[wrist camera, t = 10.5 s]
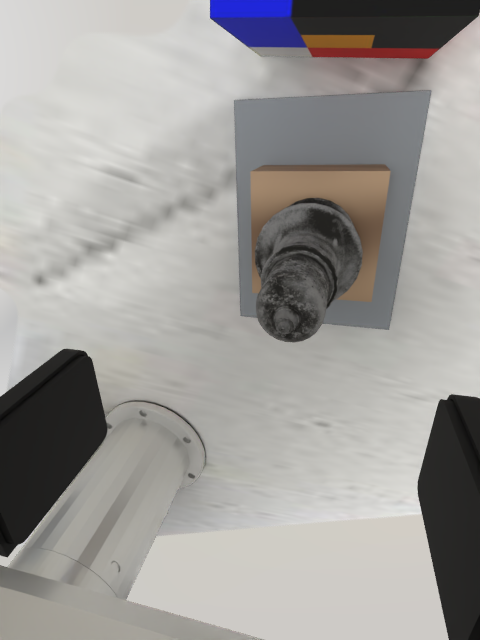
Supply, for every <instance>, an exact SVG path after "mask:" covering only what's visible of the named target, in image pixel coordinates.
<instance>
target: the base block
mask: <svg viewBox="0 0 480 640" xmlns="http://www.w3.org/2000/svg"><path fill="white" fill-rule="evenodd" d="M390 172H391V171H390V170H389V168H388V167H387V166H386V165H385V164H365V165H263V166H261V167H259V168H257V169H254V170H252V171H251V242H252V293H259V292H260V290H261V278H260V277H259V274H258V271H257V268H256V265H255V247H256V242H257V238H258V236H259V234H260V232H261V230H262V228H263V226H264V225H265V224H266V223H267V222H268V221H269V220H270V219H271V218H272V216H273V215H275V214H276V213H278V212H280V211H281V210H283V209H284V208H286V207H288V206H290V205H291V204H293V203H294V202H296V201H299V200H303V199H306V198H322V199H326V200H330V201H332V202H334V203H335V204H337V205H339V206H341V207H342V208H343V210H344V211H345V212H346V213H347V214H348V215H349V217H350V219H351V220H352V222H353V224H354V227H355V229H356V231H357V233H358V235H359V237H360V241H361V245H362V250H363V255H362V266H361V269H360V271H359V274H358V277H357V279H356V280H355V282H354V283H353V285H352V286H351V287H350V289H349V290H348V291H347V292H345V293H344V294H343V295H342V296H340V297H339V298H338V300H351V301H364V302H372V295H373V288H374V281H375V274H376V268H377V261H378V254H379V247H380V240H381V234H382V227H383V220H384V213H385V206H386V200H387V193H388V186H389V179H390Z"/></svg>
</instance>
